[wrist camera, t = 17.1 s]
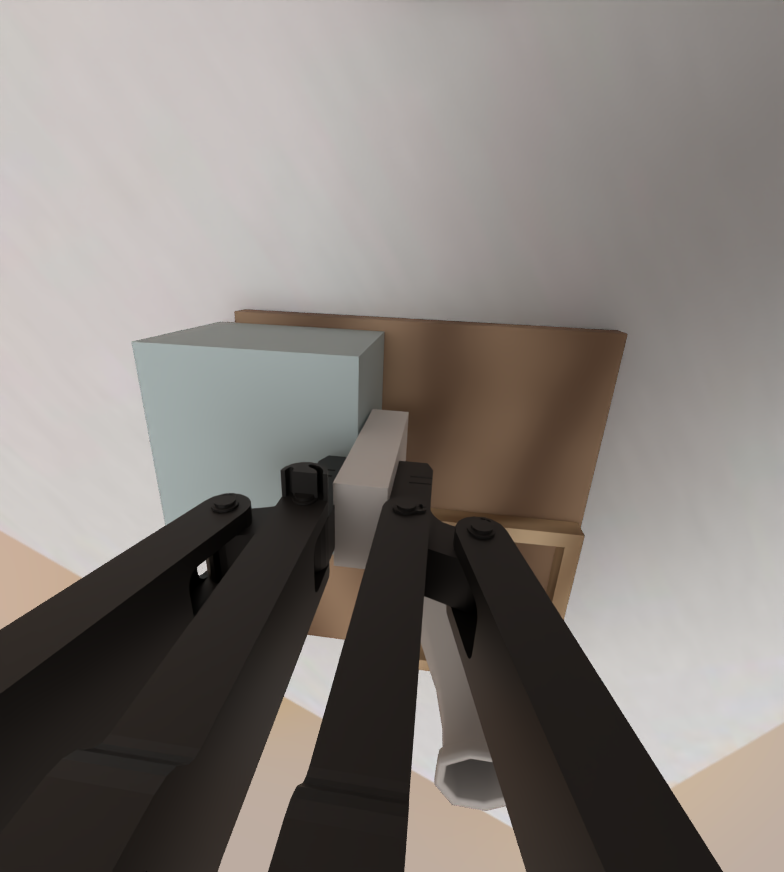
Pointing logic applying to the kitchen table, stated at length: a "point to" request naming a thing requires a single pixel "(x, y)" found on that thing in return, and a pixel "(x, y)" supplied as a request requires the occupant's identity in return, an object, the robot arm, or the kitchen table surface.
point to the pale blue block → (252, 405)
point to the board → (489, 432)
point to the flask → (457, 720)
